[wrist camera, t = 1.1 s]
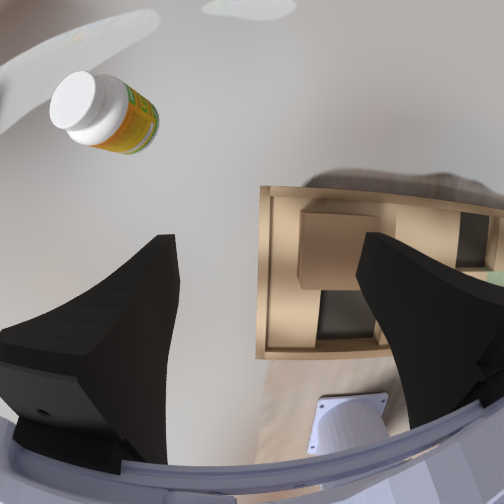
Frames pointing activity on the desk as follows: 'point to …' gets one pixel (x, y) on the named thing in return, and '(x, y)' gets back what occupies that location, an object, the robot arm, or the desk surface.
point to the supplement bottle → (104, 113)
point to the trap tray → (352, 301)
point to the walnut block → (331, 249)
